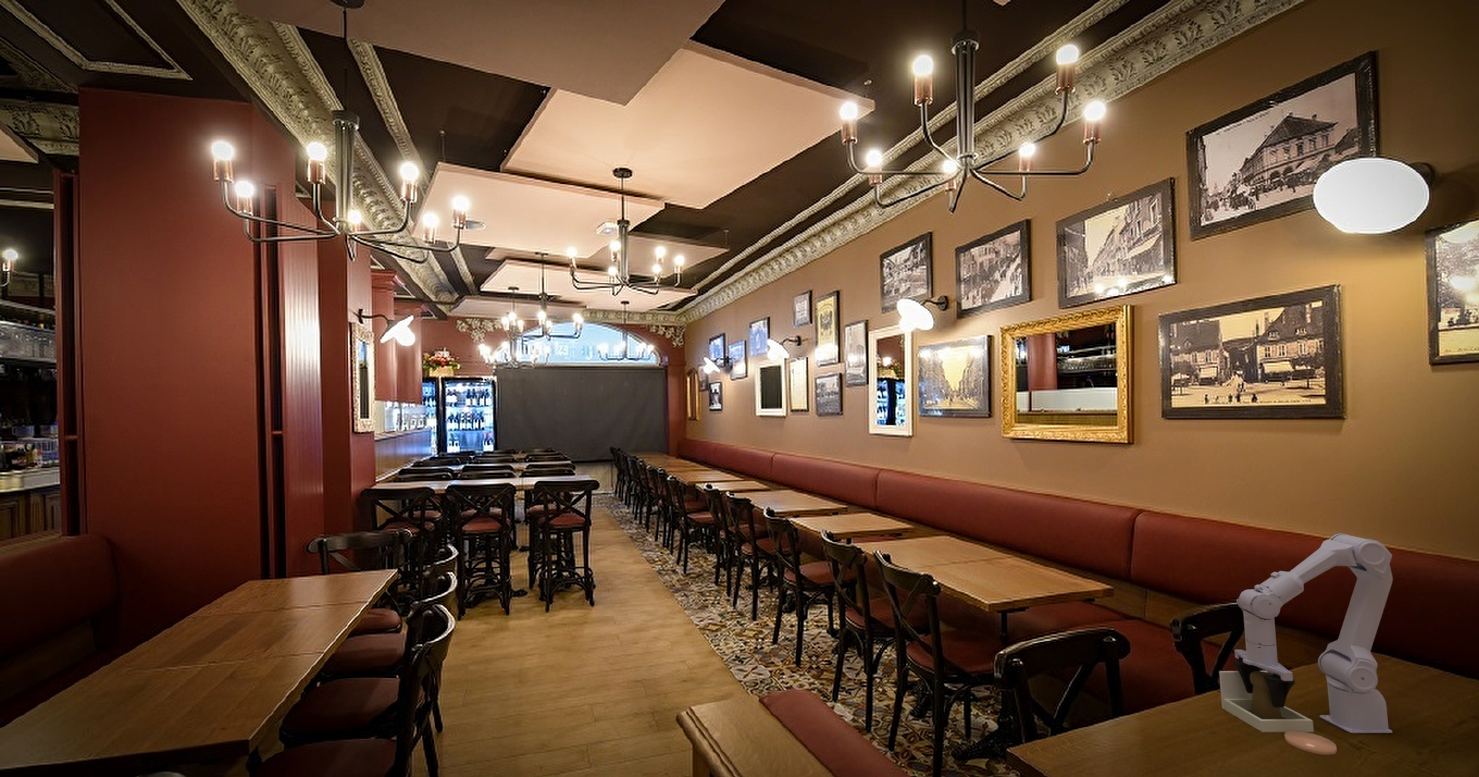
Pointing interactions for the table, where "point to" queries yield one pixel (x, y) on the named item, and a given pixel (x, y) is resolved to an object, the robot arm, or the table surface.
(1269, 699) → the brown tapered cylinder
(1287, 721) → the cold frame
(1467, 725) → the table surface
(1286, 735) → the peach flat disc
